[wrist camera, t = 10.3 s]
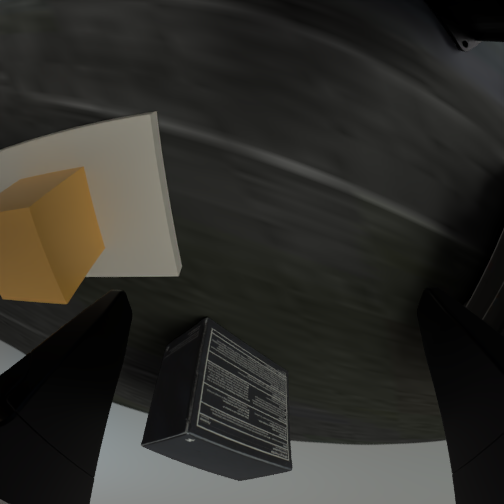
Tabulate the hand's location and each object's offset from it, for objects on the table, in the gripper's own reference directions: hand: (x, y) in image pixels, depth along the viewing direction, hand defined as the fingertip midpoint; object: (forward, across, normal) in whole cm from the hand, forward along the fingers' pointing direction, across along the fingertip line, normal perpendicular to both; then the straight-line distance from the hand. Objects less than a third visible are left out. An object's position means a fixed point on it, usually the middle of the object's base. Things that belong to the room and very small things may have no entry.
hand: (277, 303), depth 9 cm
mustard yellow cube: (+10, +14, +2) cm, 18 cm away
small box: (+12, +4, +18) cm, 22 cm away
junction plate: (+12, +14, +2) cm, 19 cm away
